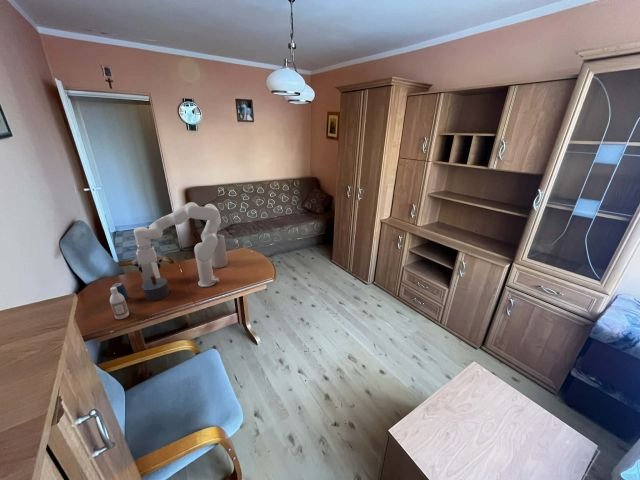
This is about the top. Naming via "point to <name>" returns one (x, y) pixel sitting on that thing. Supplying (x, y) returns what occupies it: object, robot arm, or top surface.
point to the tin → (156, 293)
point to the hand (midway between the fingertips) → (150, 270)
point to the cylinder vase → (219, 253)
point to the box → (148, 270)
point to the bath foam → (118, 304)
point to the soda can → (120, 289)
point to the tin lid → (154, 283)
